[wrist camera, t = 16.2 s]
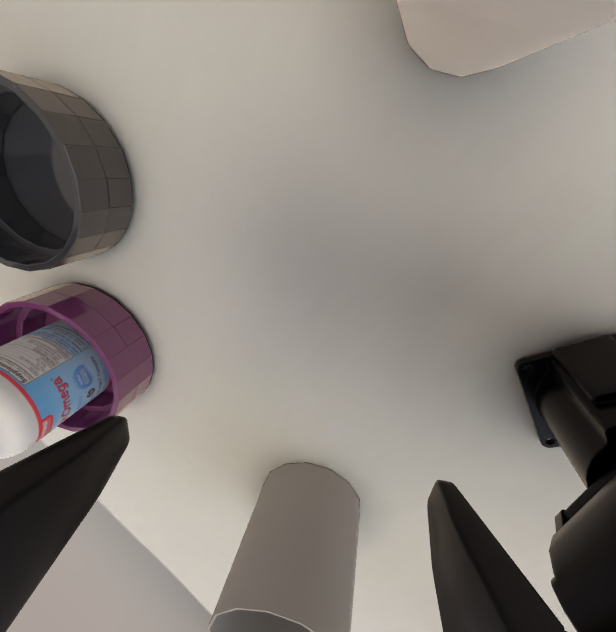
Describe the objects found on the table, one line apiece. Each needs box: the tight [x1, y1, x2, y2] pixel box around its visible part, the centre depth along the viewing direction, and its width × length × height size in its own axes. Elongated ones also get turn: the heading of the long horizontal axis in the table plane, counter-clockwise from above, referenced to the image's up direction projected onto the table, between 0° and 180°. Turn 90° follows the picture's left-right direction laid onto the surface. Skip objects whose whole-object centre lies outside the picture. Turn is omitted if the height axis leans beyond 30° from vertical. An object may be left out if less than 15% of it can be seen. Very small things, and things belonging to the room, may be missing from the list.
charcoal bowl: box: [0, 70, 132, 271], centre depth 19 cm, size 10×10×4 cm
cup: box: [208, 463, 360, 632], centre depth 24 cm, size 8×8×10 cm
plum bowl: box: [0, 283, 153, 432], centre depth 25 cm, size 10×10×4 cm
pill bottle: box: [0, 319, 112, 459], centre depth 21 cm, size 6×6×11 cm
